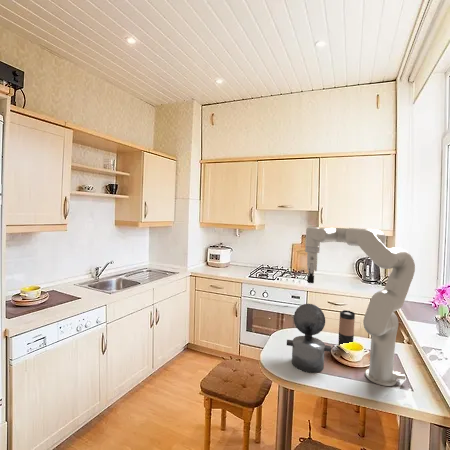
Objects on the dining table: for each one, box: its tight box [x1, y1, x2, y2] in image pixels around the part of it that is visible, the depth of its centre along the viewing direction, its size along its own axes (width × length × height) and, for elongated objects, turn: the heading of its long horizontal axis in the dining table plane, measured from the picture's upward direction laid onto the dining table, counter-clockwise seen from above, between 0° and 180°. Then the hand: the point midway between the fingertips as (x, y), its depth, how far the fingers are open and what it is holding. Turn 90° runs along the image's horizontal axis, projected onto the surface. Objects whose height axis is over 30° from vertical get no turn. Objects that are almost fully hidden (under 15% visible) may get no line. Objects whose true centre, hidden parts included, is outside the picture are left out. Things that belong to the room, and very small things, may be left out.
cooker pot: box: [286, 335, 332, 374], centre depth 145 cm, size 21×17×11 cm
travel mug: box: [337, 309, 356, 345], centre depth 163 cm, size 8×8×20 cm
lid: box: [293, 303, 326, 337], centre depth 154 cm, size 16×16×3 cm
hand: (310, 282), depth 164 cm, fingers closed
